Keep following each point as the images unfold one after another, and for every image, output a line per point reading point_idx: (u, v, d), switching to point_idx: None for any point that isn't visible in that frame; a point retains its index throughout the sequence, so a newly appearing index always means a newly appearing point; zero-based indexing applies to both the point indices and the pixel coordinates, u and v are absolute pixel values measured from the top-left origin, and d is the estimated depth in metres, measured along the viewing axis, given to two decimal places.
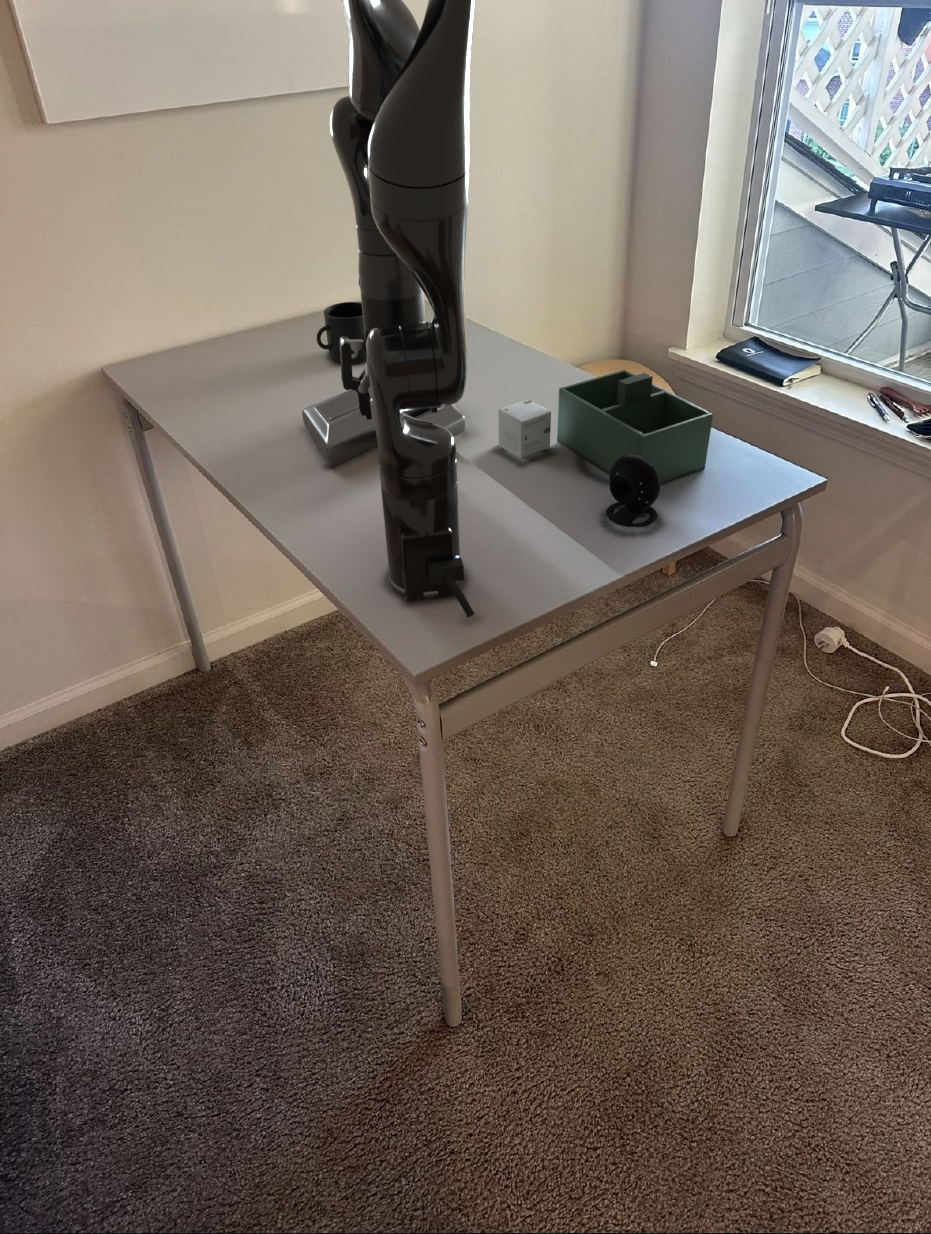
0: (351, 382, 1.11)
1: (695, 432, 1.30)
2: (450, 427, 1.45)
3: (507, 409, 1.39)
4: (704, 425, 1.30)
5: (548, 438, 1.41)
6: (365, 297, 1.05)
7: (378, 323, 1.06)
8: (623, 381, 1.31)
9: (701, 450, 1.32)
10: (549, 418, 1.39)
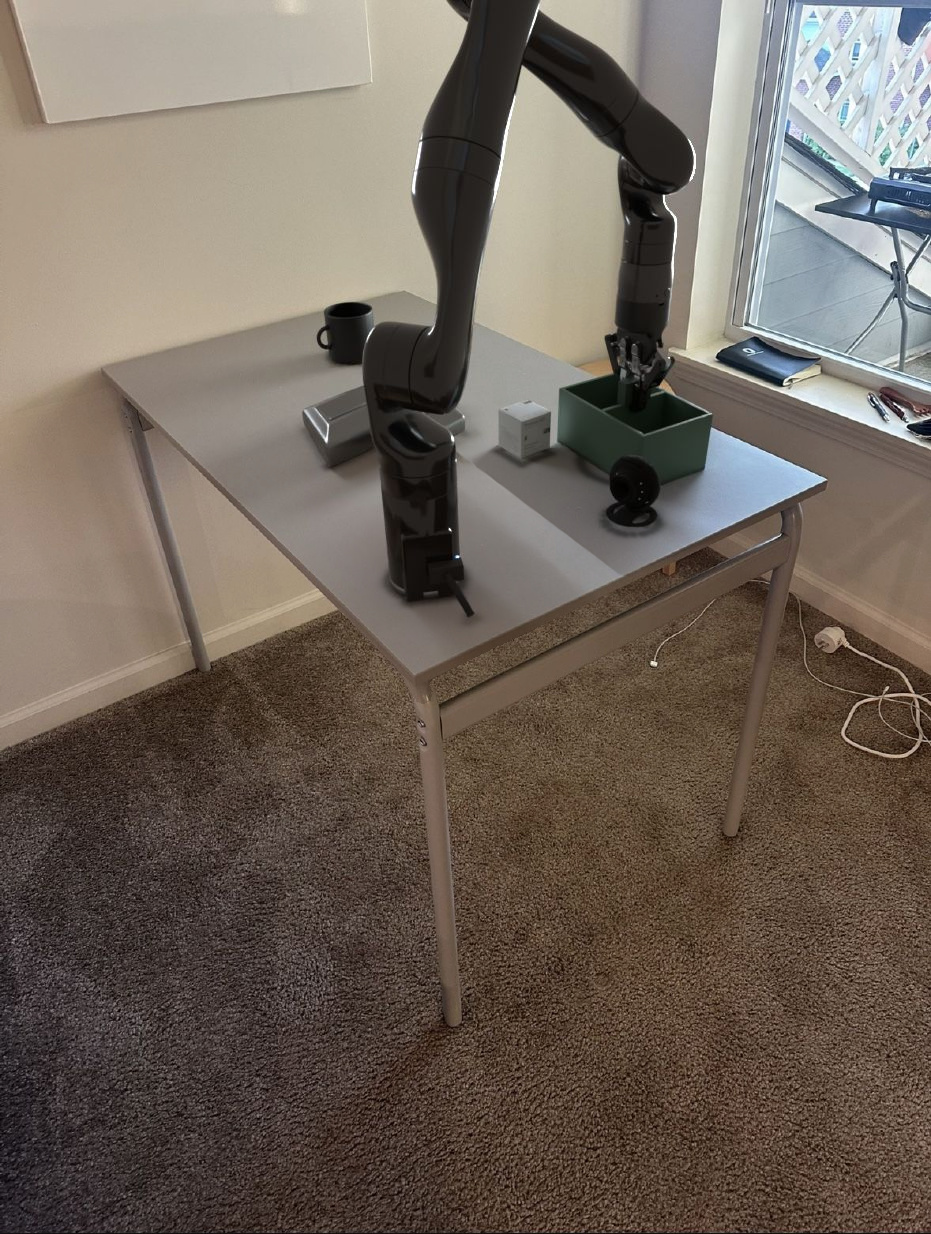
0: (617, 369, 1.33)
1: (695, 432, 1.30)
2: (450, 427, 1.45)
3: (507, 409, 1.39)
4: (704, 425, 1.30)
5: (548, 438, 1.41)
6: None
7: (615, 314, 1.26)
8: (623, 381, 1.31)
9: (701, 450, 1.32)
10: (549, 418, 1.39)
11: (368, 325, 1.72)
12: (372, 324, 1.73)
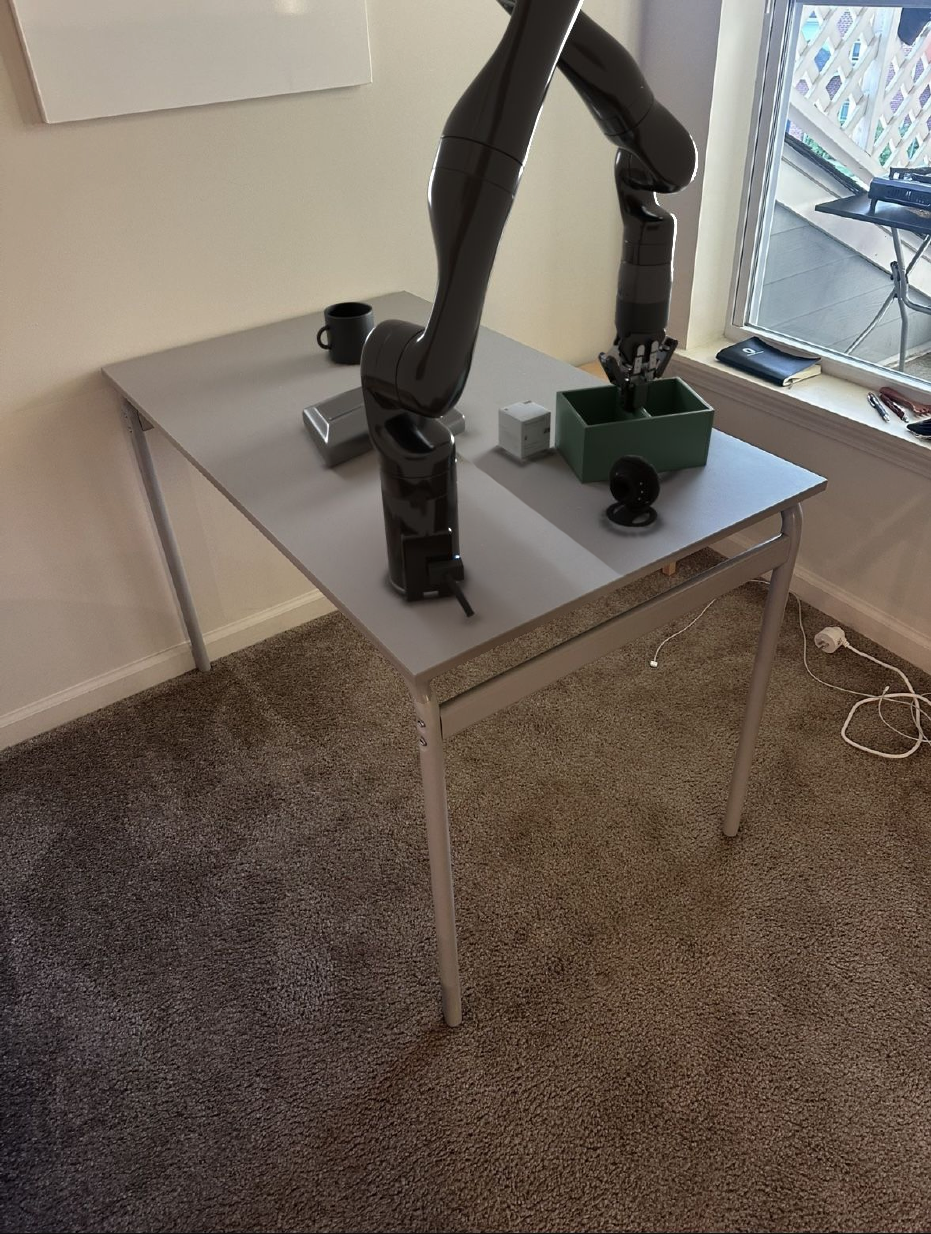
0: (626, 381, 1.29)
1: None
2: (450, 427, 1.45)
3: (507, 409, 1.39)
4: None
5: (548, 438, 1.41)
6: (632, 303, 1.22)
7: (643, 323, 1.23)
8: (640, 384, 1.30)
9: None
10: (549, 418, 1.39)
11: (368, 325, 1.72)
12: (372, 324, 1.73)
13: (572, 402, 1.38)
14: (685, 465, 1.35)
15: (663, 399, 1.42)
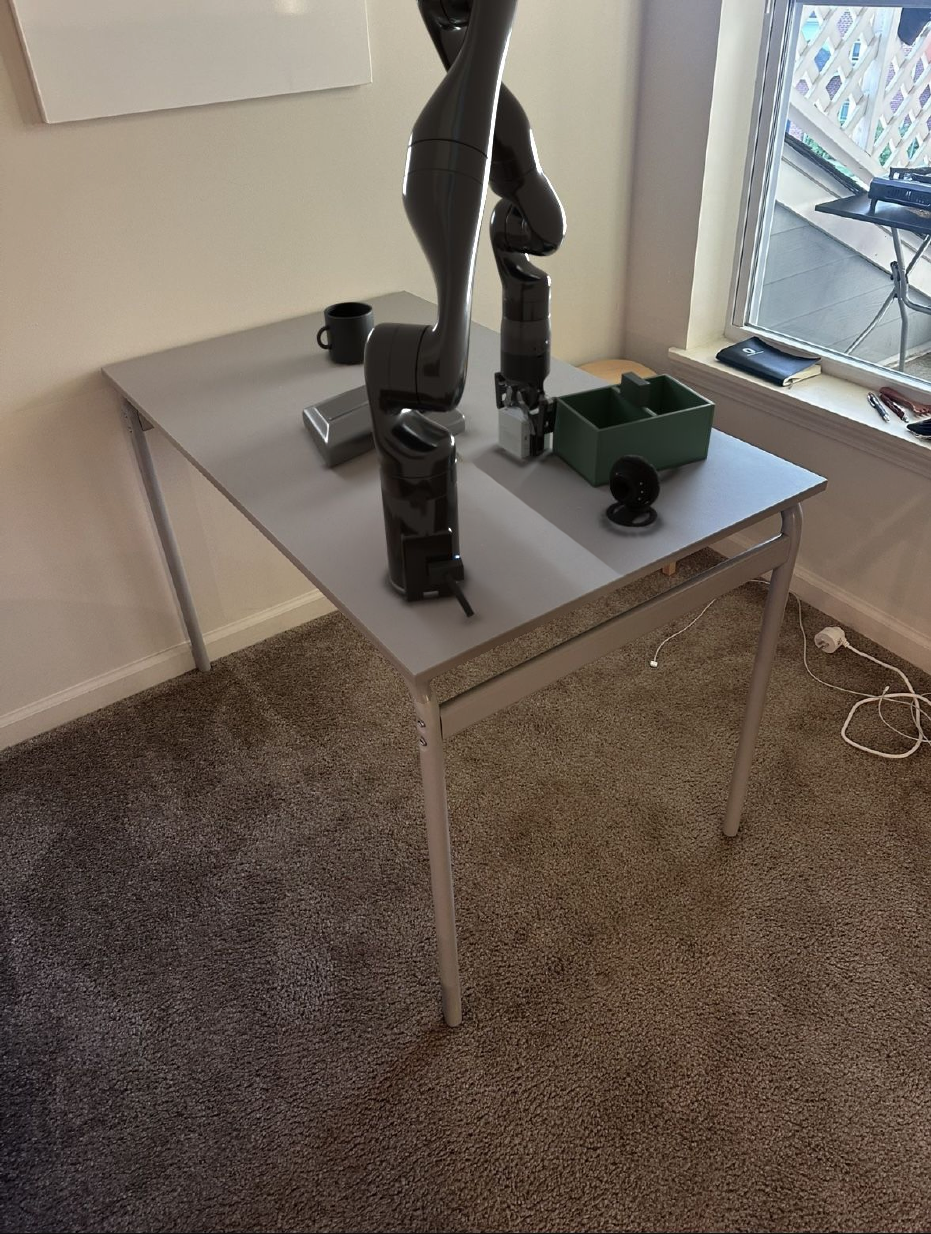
0: (499, 404, 1.43)
1: None
2: (450, 427, 1.45)
3: (507, 409, 1.39)
4: None
5: (548, 438, 1.41)
6: None
7: (500, 363, 1.35)
8: (642, 384, 1.30)
9: None
10: None
11: (368, 325, 1.72)
12: (372, 324, 1.73)
13: None
14: (688, 460, 1.36)
15: (653, 397, 1.43)
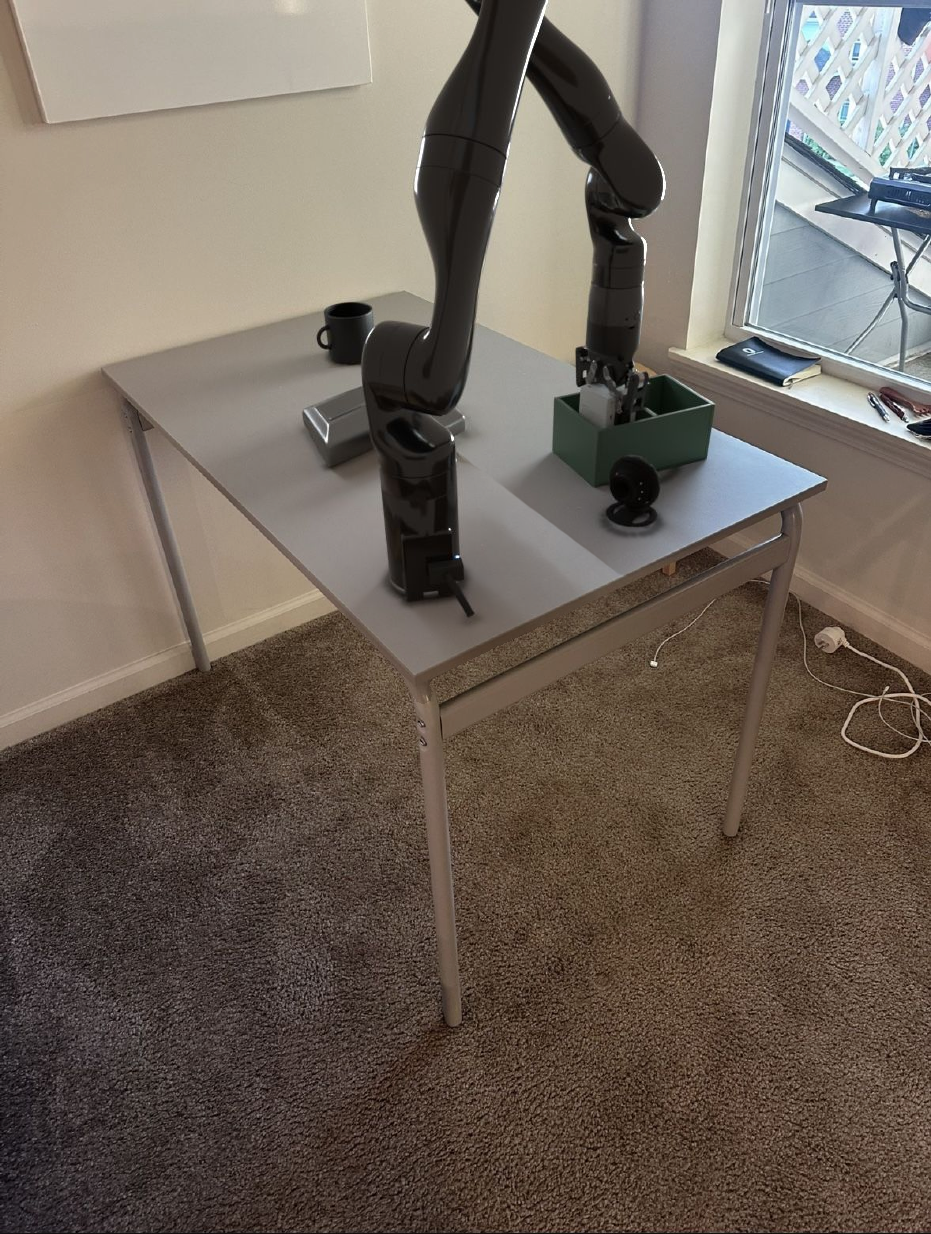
0: (580, 382, 1.33)
1: None
2: (450, 427, 1.45)
3: (590, 386, 1.30)
4: None
5: (633, 417, 1.32)
6: None
7: None
8: None
9: None
10: None
11: (368, 325, 1.72)
12: (372, 324, 1.73)
13: None
14: (688, 460, 1.36)
15: (653, 397, 1.43)
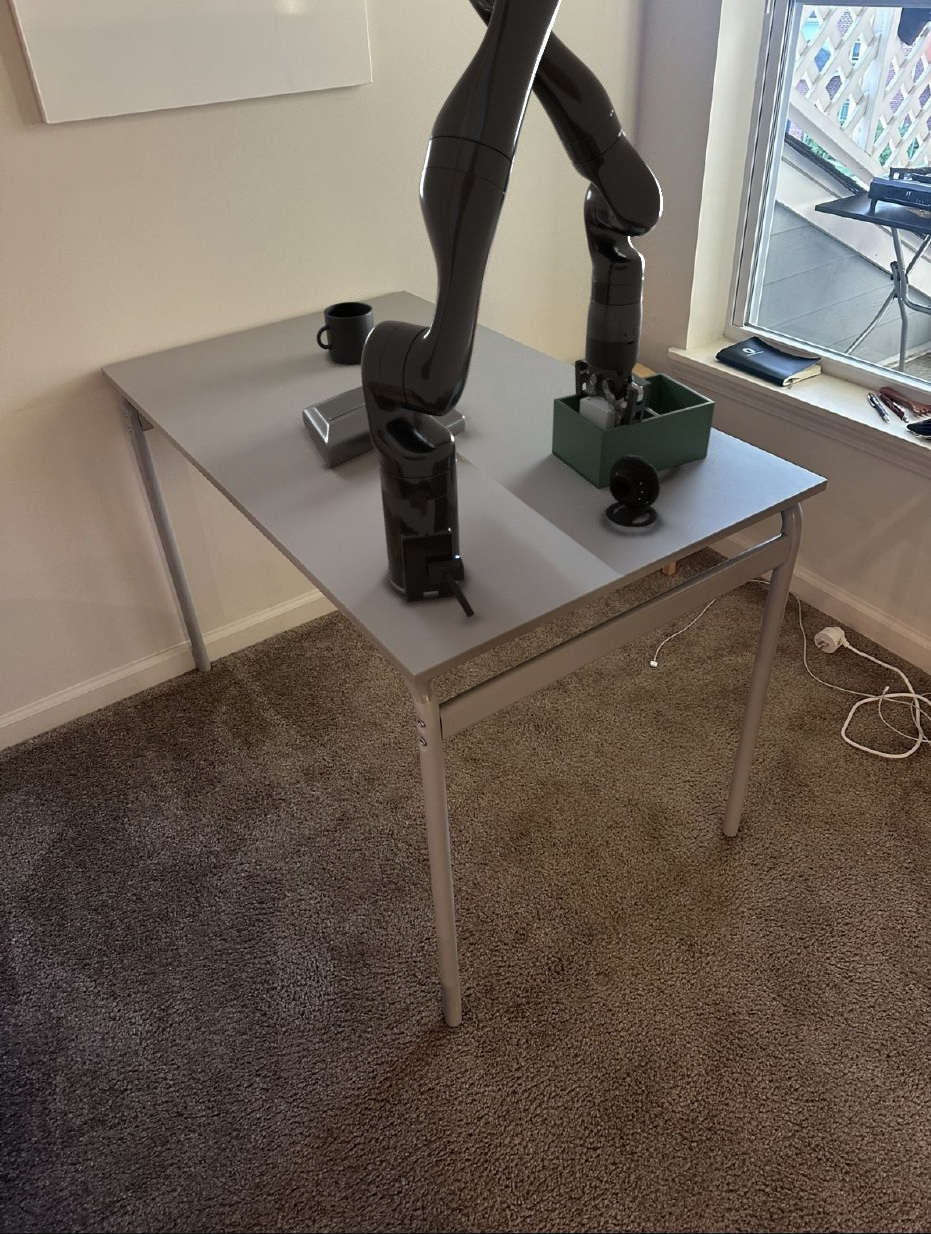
0: (580, 394, 1.35)
1: None
2: (450, 427, 1.45)
3: (590, 399, 1.32)
4: None
5: None
6: None
7: (585, 351, 1.27)
8: (643, 383, 1.30)
9: None
10: None
11: (368, 325, 1.72)
12: (372, 324, 1.73)
13: None
14: (688, 459, 1.37)
15: (650, 396, 1.43)
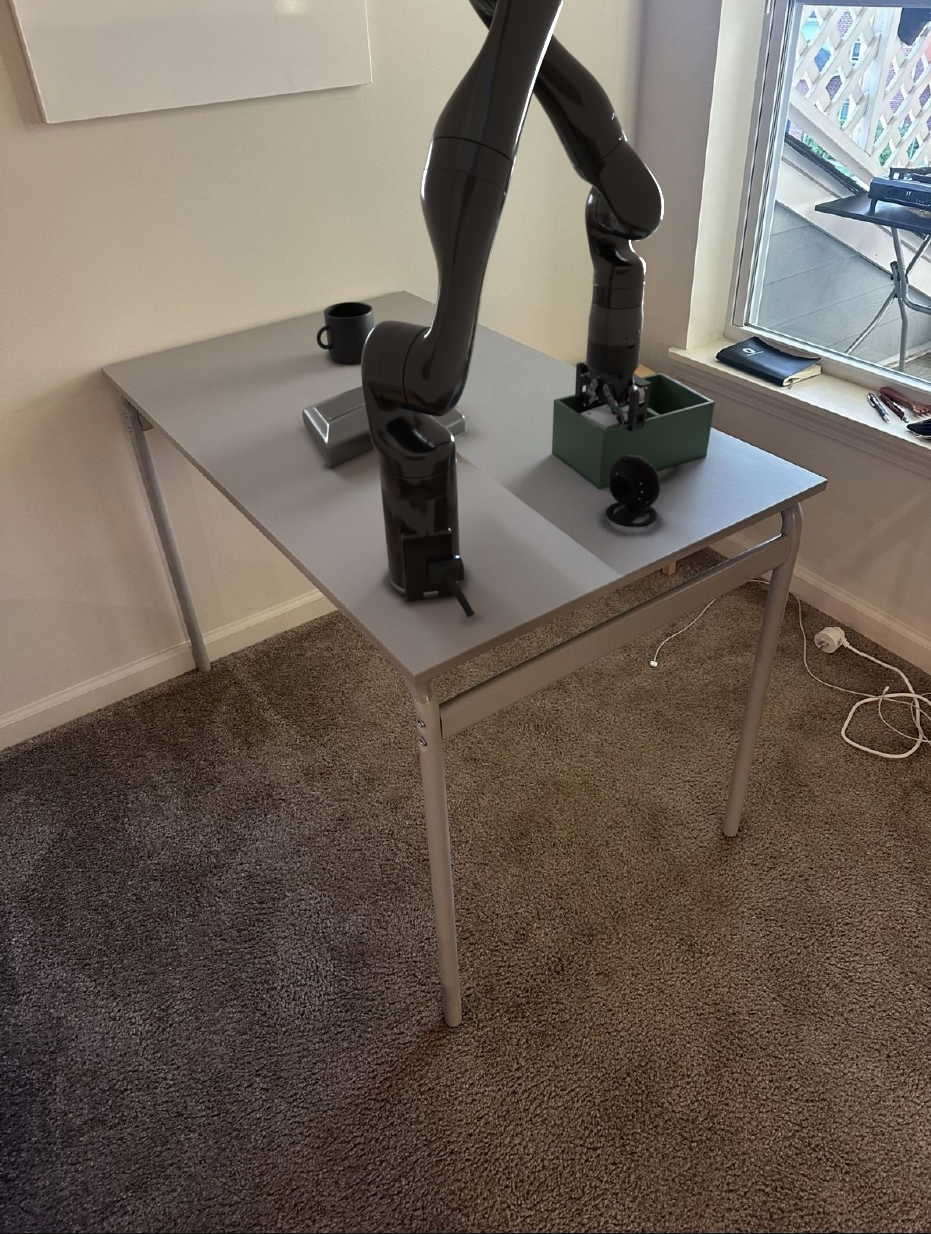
0: (579, 396, 1.35)
1: None
2: (450, 427, 1.45)
3: (590, 413, 1.33)
4: None
5: None
6: None
7: None
8: (643, 383, 1.30)
9: None
10: None
11: (368, 325, 1.72)
12: (372, 324, 1.73)
13: None
14: (689, 458, 1.37)
15: (649, 396, 1.43)
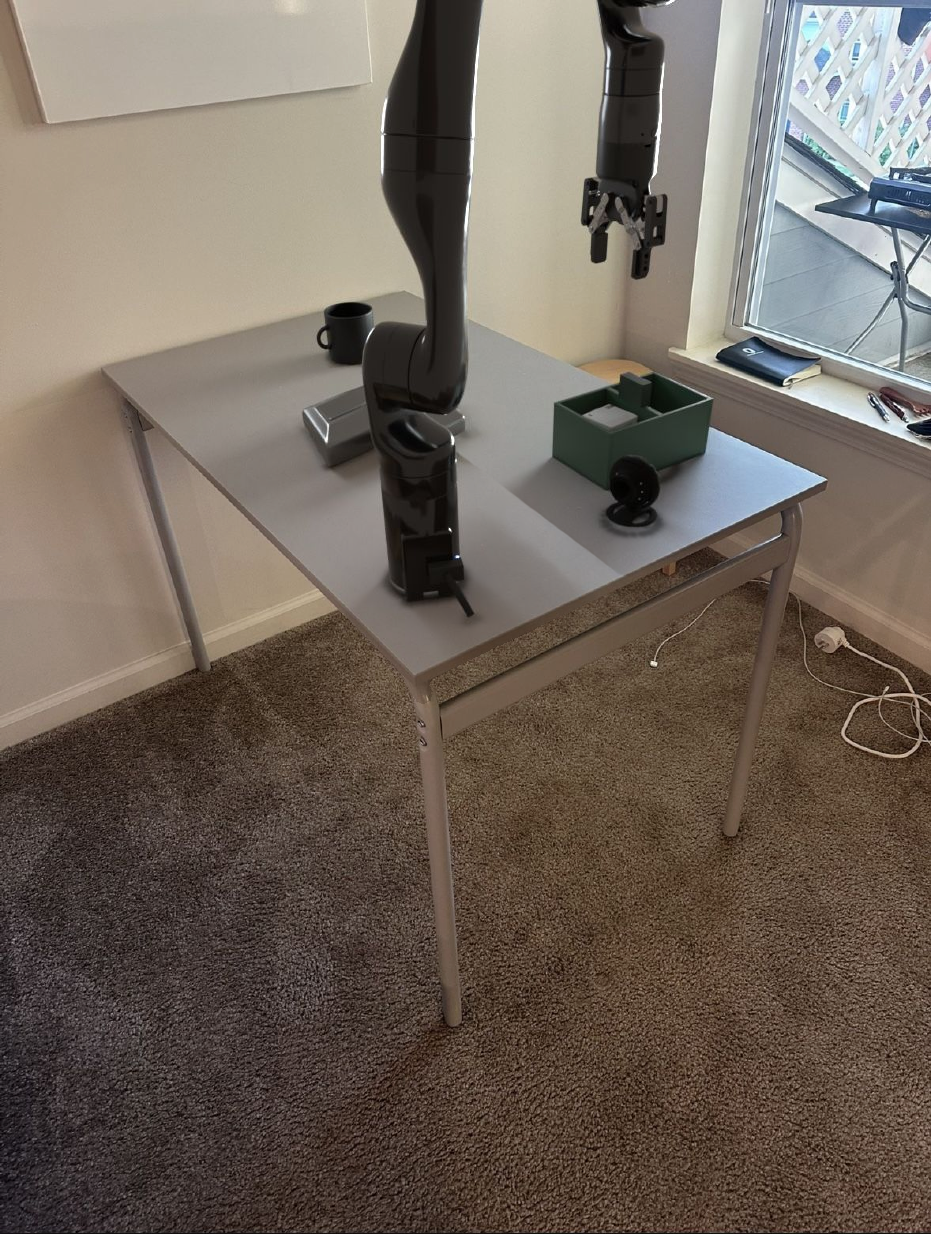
0: (585, 219, 1.20)
1: None
2: (450, 427, 1.45)
3: (591, 415, 1.33)
4: None
5: None
6: None
7: (596, 162, 1.12)
8: (644, 383, 1.30)
9: None
10: None
11: (368, 325, 1.72)
12: (372, 324, 1.73)
13: None
14: (689, 456, 1.37)
15: None
